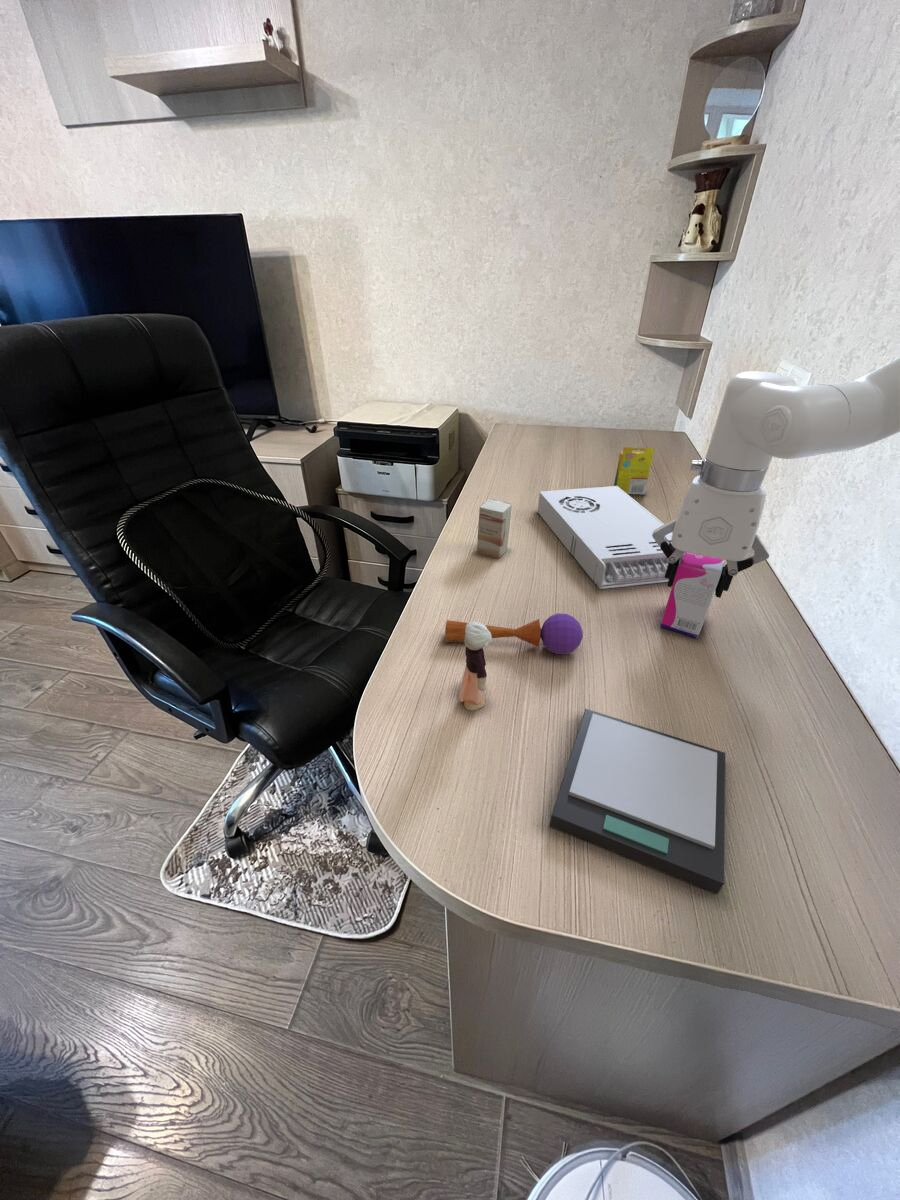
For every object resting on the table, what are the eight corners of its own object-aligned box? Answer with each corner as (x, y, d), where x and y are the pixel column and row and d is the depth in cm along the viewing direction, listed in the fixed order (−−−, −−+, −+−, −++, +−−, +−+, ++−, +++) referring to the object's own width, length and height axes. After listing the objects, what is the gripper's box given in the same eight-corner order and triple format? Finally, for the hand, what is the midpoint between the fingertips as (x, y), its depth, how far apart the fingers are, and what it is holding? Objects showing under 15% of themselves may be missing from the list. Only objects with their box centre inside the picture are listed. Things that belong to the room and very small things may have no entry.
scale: (720, 763, 58) (727, 749, 57) (717, 894, 46) (726, 880, 45) (583, 719, 64) (586, 704, 62) (549, 826, 52) (552, 811, 50)
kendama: (448, 605, 77) (581, 607, 74) (450, 639, 80) (579, 642, 77) (442, 622, 72) (585, 625, 69) (445, 658, 74) (583, 662, 71)
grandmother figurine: (449, 685, 69) (449, 610, 61) (474, 678, 70) (478, 604, 63) (470, 725, 63) (473, 648, 56) (498, 717, 64) (504, 640, 57)
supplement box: (704, 619, 81) (727, 558, 75) (697, 639, 77) (721, 576, 71) (667, 608, 84) (686, 548, 77) (658, 626, 80) (678, 564, 73)
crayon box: (642, 490, 126) (653, 444, 119) (644, 495, 123) (656, 448, 117) (612, 489, 126) (621, 443, 120) (614, 493, 124) (623, 447, 117)
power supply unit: (599, 589, 88) (604, 565, 86) (537, 512, 115) (539, 491, 112) (695, 579, 91) (703, 555, 89) (613, 505, 118) (617, 485, 115)
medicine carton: (475, 553, 99) (477, 506, 93) (485, 544, 102) (487, 497, 96) (500, 559, 97) (503, 511, 91) (508, 550, 100) (512, 503, 94)
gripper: (660, 473, 67) (632, 586, 77) (810, 495, 61) (757, 615, 71) (666, 456, 72) (638, 564, 82) (803, 475, 66) (755, 588, 76)
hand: (694, 586), depth 77 cm, fingers closed on supplement box, 6 cm apart
